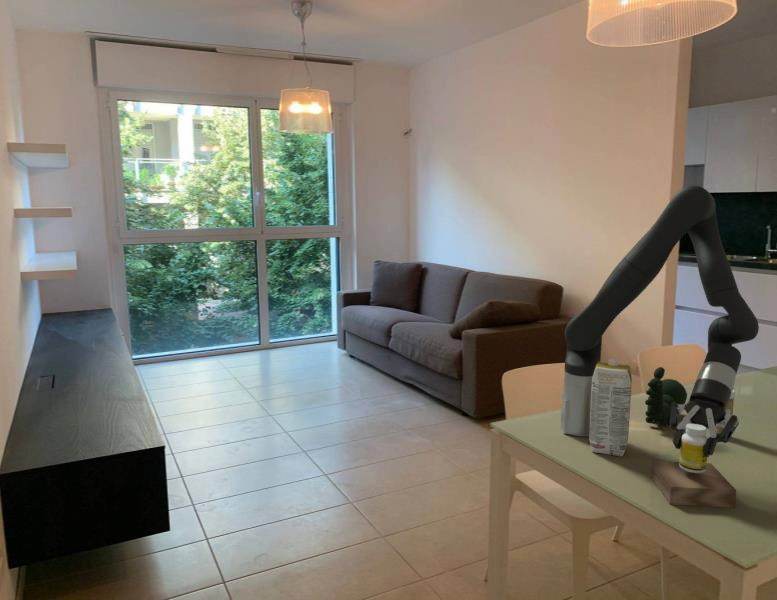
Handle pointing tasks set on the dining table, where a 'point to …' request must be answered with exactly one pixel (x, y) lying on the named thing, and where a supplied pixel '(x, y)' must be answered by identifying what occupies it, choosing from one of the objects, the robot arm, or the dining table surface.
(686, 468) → the supplement bottle
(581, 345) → the robot arm
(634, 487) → the dining table surface
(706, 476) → the walnut plinth
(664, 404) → the toy figurine
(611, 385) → the juice carton
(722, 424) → the sprinkles bottle
